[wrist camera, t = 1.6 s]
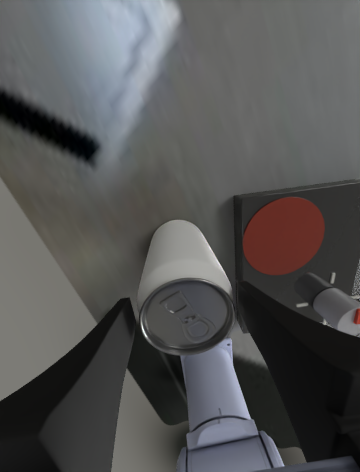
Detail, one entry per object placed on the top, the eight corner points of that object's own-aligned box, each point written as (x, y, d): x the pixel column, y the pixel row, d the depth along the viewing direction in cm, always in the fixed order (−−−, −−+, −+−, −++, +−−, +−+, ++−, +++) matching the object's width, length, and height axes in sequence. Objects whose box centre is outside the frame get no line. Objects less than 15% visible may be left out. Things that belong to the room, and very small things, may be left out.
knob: (340, 311, 23) (372, 336, 20) (310, 315, 23) (337, 341, 20) (346, 285, 22) (381, 307, 18) (314, 290, 22) (343, 312, 18)
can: (171, 276, 23) (174, 375, 12) (140, 239, 21) (106, 312, 10) (213, 249, 22) (261, 327, 11) (184, 207, 20) (205, 248, 9)
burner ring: (317, 268, 21) (319, 269, 21) (242, 279, 21) (243, 280, 21) (329, 191, 18) (330, 191, 18) (242, 203, 18) (242, 203, 18)
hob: (336, 308, 26) (354, 322, 24) (236, 322, 26) (243, 338, 24) (363, 177, 20) (390, 178, 18) (233, 195, 20) (242, 198, 18)
